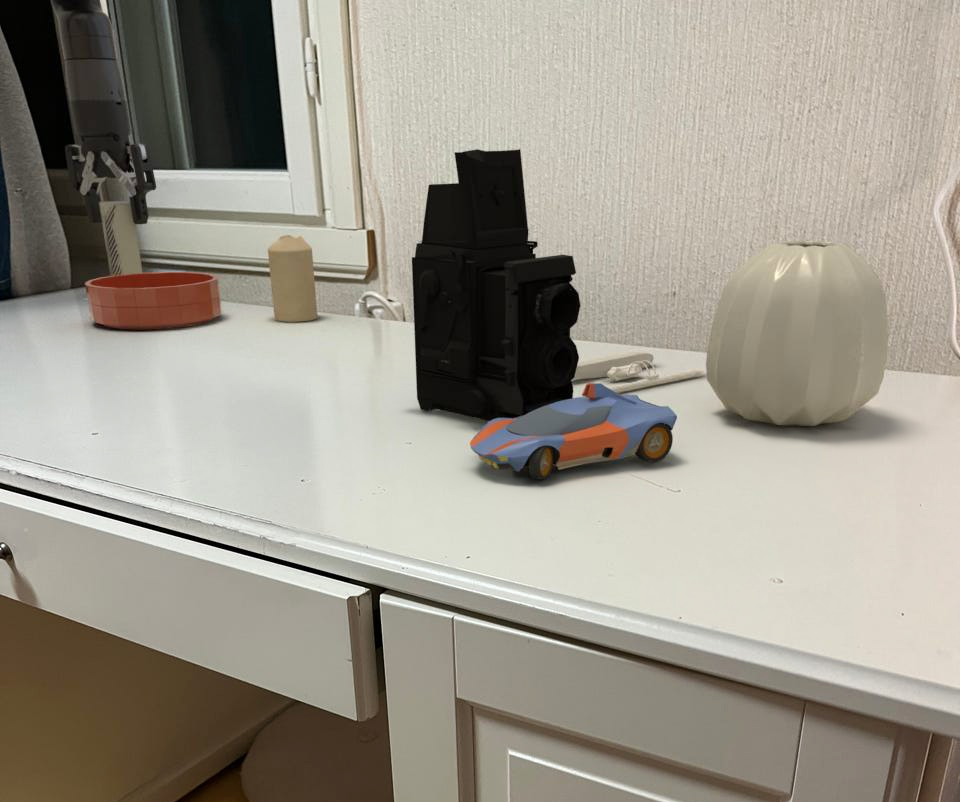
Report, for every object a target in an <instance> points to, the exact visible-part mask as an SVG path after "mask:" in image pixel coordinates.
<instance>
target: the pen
mask: <svg viewBox="0 0 960 802" xmlns="http://www.w3.org/2000/svg"><path fill="white" fill-rule="evenodd" d="M642 360H647V361H649V362H651V363H652V364H653V361H654V355H653V354H652V353H650V352H647V351H644V350H643V351H642V350H641V351H640V350H639V351H627V352H622V353H618V354H612V355H608V356H603V357H598V358H593V359H588V360H583V361H578V364H577V368H576V372H575V376H574V378H573V379H572V380H581V379H597V378H605V377H608V376H607V372H608V371H610V369H611V368H612V367H622V366H627V365H630V364H631V363H634V362H636V361H642ZM638 363H639V362H638ZM638 363H635V364H638ZM643 363H644V364H645V365H646V366H647V368H648V367H649V366H651V364H650V363H648V362H646V361H643ZM639 366H640V367H641V368H642V369H646V367H645V366H644V365H643V364H642V363H640V364H639Z"/></svg>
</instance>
